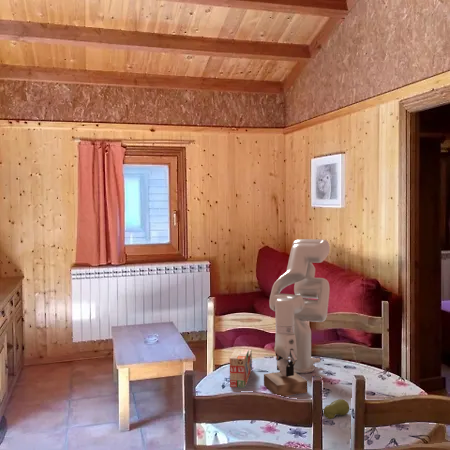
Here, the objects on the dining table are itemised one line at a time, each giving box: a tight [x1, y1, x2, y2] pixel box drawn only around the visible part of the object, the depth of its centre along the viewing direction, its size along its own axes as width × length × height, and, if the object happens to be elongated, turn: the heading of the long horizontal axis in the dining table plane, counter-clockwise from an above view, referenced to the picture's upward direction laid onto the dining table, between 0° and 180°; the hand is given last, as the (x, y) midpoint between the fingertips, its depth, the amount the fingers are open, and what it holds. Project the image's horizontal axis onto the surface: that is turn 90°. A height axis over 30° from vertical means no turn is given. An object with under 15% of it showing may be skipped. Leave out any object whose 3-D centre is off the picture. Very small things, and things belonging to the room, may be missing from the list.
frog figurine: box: [276, 358, 290, 377], centre depth 194 cm, size 6×7×7 cm
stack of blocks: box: [229, 348, 253, 389], centre depth 206 cm, size 21×6×12 cm, turn 169°
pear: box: [322, 398, 350, 420], centre depth 170 cm, size 6×5×10 cm
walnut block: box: [263, 371, 308, 397], centre depth 194 cm, size 13×13×5 cm
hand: (285, 372), depth 194 cm, fingers closed on frog figurine, 6 cm apart
